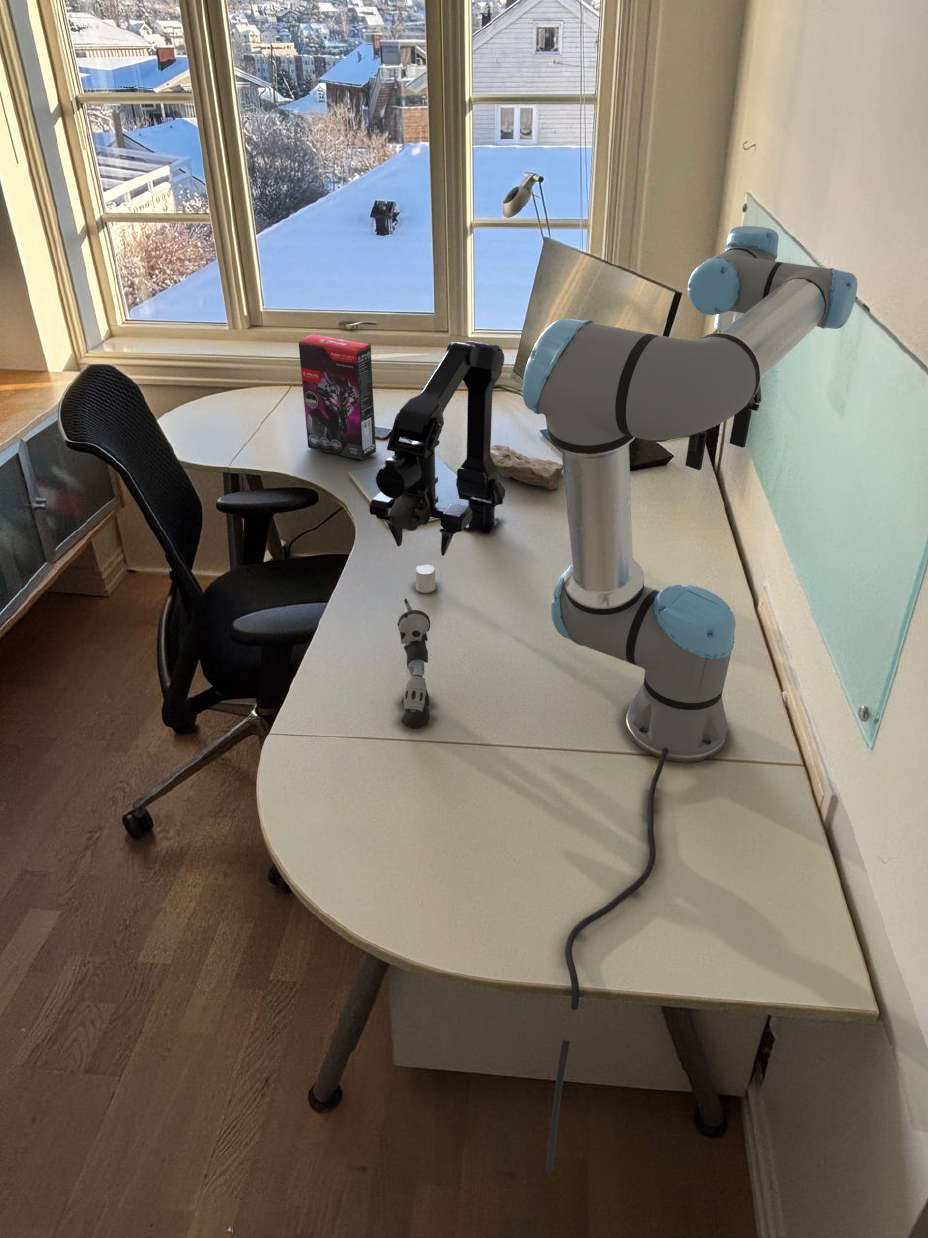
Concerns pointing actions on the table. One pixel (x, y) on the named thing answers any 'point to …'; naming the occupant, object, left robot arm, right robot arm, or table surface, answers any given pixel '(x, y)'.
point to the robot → (415, 666)
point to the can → (425, 578)
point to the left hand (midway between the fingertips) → (421, 550)
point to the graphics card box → (338, 396)
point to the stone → (525, 467)
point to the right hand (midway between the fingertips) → (715, 456)
